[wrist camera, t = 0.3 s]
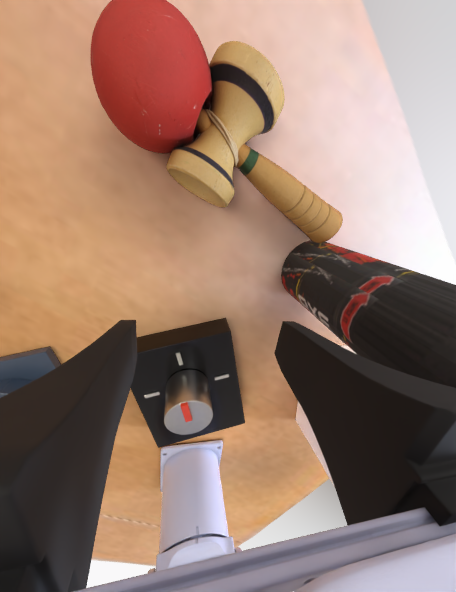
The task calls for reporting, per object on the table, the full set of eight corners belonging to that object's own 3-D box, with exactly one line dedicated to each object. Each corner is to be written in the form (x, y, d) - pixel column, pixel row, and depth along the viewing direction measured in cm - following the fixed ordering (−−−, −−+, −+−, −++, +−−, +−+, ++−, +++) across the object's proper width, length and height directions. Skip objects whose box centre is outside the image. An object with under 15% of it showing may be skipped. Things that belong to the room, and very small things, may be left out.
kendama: (337, 174, 20) (134, -44, 11) (393, 191, 15) (109, -172, 6) (281, 245, 23) (88, 119, 14) (312, 278, 18) (49, 119, 9)
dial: (211, 394, 23) (217, 430, 19) (172, 404, 22) (170, 443, 19) (204, 364, 21) (209, 398, 18) (161, 375, 20) (157, 412, 17)
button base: (98, 424, 25) (90, 447, 22) (9, 447, 24) (-8, 473, 21) (50, 346, 20) (33, 365, 18) (-64, 370, 19) (-96, 394, 17)
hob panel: (239, 405, 28) (245, 424, 26) (159, 426, 27) (157, 449, 24) (225, 317, 22) (231, 332, 20) (123, 340, 21) (115, 359, 19)
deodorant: (269, 276, 21) (420, 416, 8) (313, 226, 20) (578, 291, 7) (306, 307, 24) (471, 454, 10) (348, 264, 23) (594, 367, 9)
